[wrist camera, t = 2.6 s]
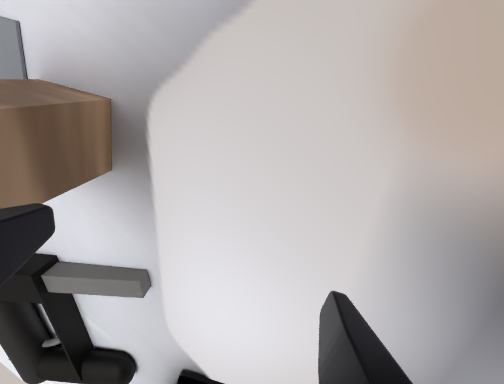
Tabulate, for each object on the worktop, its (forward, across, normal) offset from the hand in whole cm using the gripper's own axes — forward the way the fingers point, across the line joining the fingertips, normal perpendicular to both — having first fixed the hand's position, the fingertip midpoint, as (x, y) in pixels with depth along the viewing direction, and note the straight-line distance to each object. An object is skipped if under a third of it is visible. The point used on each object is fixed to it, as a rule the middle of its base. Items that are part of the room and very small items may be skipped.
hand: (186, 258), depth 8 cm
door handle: (+9, +12, +16) cm, 22 cm away
